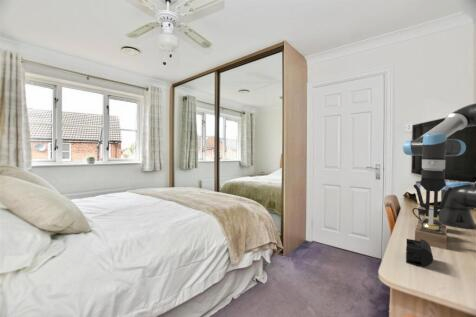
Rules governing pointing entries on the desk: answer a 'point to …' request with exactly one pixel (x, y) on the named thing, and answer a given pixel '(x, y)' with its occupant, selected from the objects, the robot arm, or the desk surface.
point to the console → (432, 234)
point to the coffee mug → (422, 213)
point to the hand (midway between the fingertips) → (430, 224)
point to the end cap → (418, 253)
